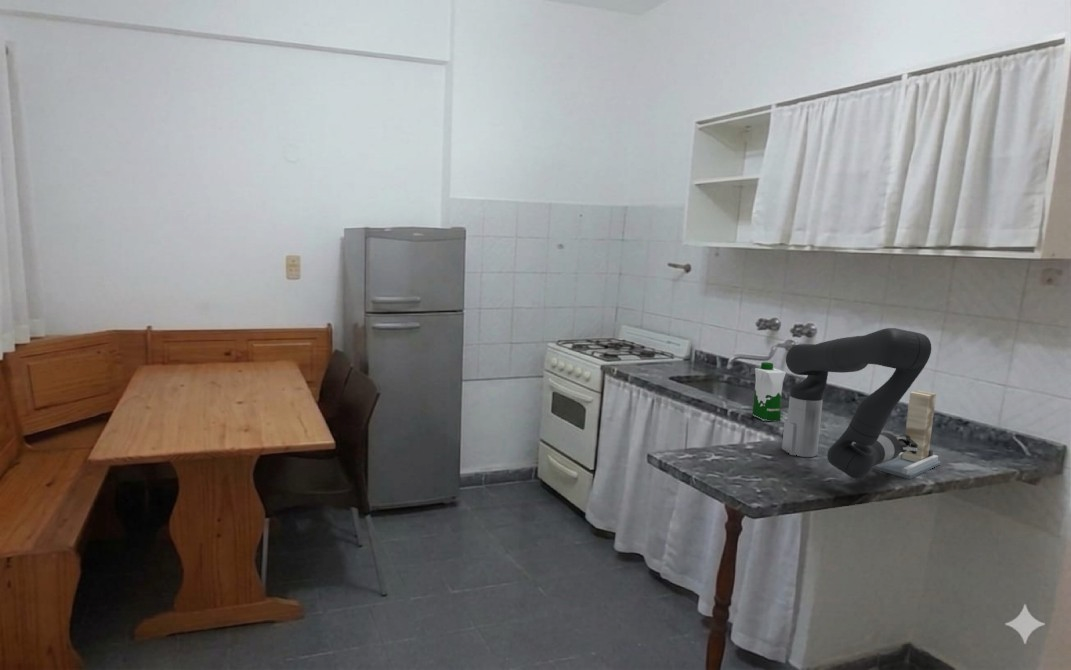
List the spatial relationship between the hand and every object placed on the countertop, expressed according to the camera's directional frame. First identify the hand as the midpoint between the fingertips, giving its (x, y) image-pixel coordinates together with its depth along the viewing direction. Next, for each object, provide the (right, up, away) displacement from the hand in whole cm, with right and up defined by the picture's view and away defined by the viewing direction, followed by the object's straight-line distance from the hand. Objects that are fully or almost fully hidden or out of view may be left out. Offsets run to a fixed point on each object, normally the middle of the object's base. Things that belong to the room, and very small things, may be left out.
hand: (906, 438), depth 186 cm
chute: (+2, -9, +3) cm, 9 cm away
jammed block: (+6, -7, +6) cm, 11 cm away
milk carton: (-22, -1, +50) cm, 55 cm away
